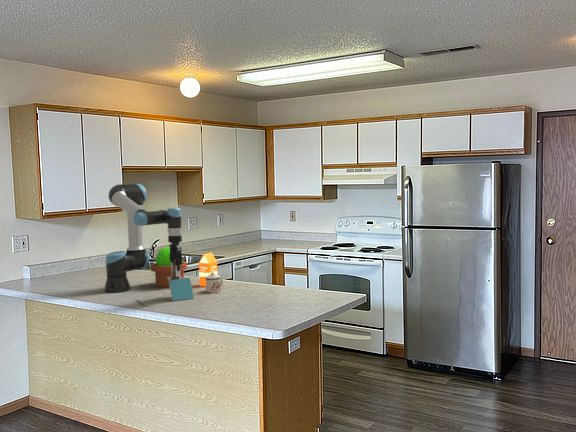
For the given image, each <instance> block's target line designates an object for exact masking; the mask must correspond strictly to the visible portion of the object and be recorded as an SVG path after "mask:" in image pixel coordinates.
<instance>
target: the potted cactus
mask: <svg viewBox="0 0 576 432" xmlns="http://www.w3.org/2000/svg"><path fill="white" fill-rule="evenodd" d="M187 269H188V262H187V261H184V260H182V264H181V277H182V279H184V278H185V272H184V271H185V270H187ZM150 270H151V272H154V275H155V286H157V287H158V288H159V287H160V288H170V286H169V281H168V279H167V277H171V274H172V270H171V261H170V246H168V245H167V246H163V247H162V248H161V249H160V250H158V253H157V254H156V258H155V262H153V263H151V264H150Z"/></svg>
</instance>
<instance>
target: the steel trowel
mask: <svg viewBox="0 0 576 432" xmlns="http://www.w3.org/2000/svg"><path fill="white" fill-rule="evenodd" d="M175 264H176V260H175V259H173V265H172V274H171V277H167V279H168V281H169V280H176V279H182V277H181V276H178V277H176V269H175ZM180 266H181V265H180Z"/></svg>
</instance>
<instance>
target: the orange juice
mask: <svg viewBox="0 0 576 432" xmlns="http://www.w3.org/2000/svg"><path fill="white" fill-rule="evenodd" d="M198 272H199V275H198V276H199V286H200V287H206V279H205V277H206V276H208V275H210V274H211V272H214V274H216V275H218V261H217V259H216V257H215V256H214V254H213V252H208V253H204V254H203V255H202V257H201V258H200V260H199V262H198Z"/></svg>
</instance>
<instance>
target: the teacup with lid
mask: <svg viewBox="0 0 576 432" xmlns="http://www.w3.org/2000/svg"><path fill="white" fill-rule="evenodd" d="M205 279H206V286H205V292H207V293H214V294H219V293H221V291H222V289H221V286H222V285H223V283H224V279H223V278H221V275H219V274H217V275H216V274H214V272H211V274H210V275H208V276H206V277H205Z"/></svg>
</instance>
